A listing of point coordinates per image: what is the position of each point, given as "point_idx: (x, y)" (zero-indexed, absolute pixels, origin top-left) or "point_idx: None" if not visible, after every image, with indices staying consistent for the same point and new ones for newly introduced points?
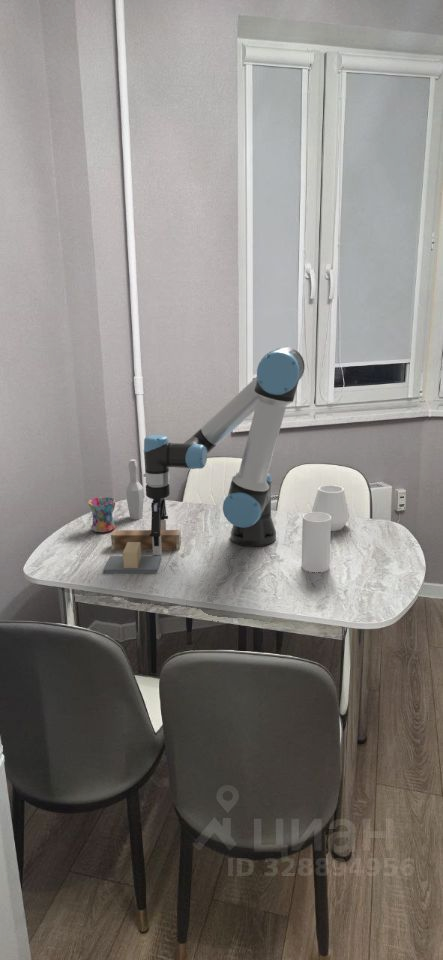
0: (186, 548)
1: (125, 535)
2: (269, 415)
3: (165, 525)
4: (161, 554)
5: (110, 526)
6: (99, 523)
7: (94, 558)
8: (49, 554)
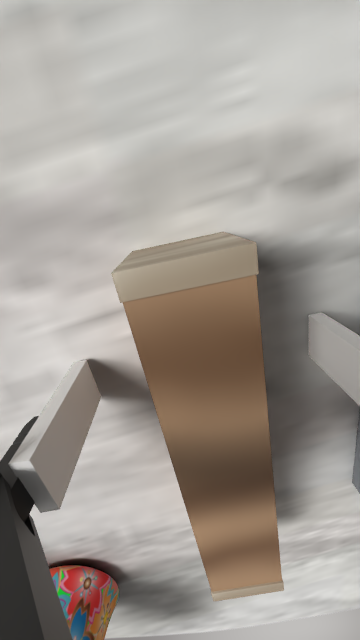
0: (198, 188)
1: (278, 547)
2: None
3: (52, 423)
4: (319, 313)
5: (82, 591)
6: (103, 635)
7: (338, 521)
8: (303, 606)
